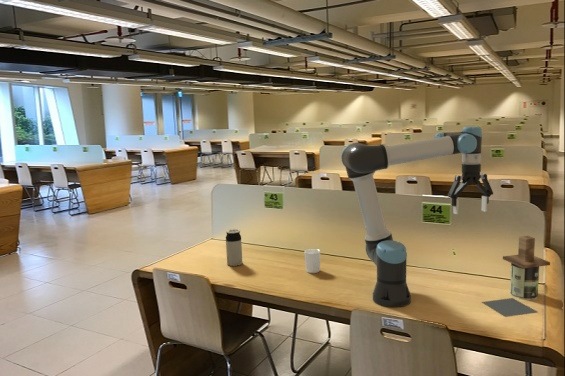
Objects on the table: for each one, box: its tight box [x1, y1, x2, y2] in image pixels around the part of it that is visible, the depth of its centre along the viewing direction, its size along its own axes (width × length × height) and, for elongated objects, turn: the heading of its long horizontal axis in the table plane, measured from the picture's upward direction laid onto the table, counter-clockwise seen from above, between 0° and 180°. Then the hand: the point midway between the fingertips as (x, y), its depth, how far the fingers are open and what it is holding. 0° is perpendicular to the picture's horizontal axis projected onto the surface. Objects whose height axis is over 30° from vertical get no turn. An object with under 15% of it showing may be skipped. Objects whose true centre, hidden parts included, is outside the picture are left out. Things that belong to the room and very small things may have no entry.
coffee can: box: [509, 263, 540, 301], centre depth 187 cm, size 10×10×14 cm
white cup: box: [303, 248, 321, 274], centre depth 227 cm, size 8×8×10 cm
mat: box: [481, 297, 538, 318], centre depth 177 cm, size 14×14×1 cm
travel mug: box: [225, 228, 243, 267], centre depth 241 cm, size 8×8×18 cm
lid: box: [502, 235, 551, 268], centre depth 186 cm, size 12×12×10 cm
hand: (470, 212), depth 200 cm, fingers open, 13 cm apart
